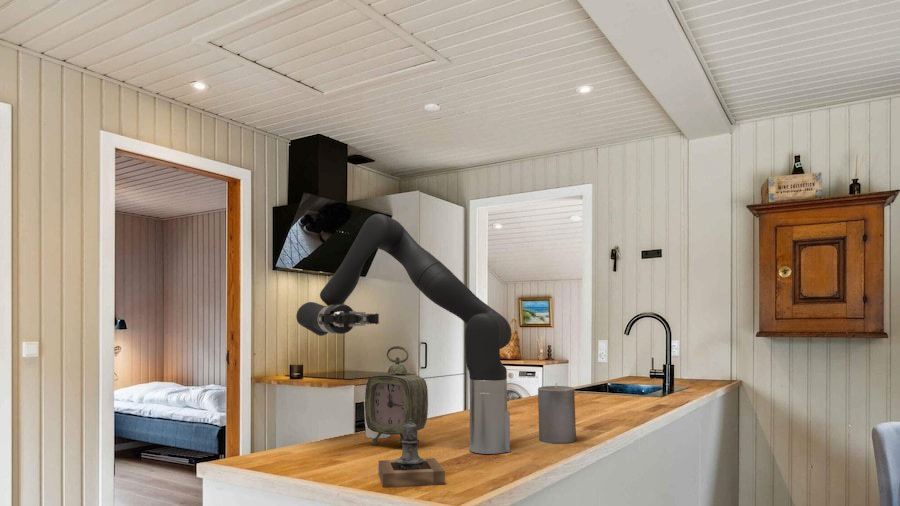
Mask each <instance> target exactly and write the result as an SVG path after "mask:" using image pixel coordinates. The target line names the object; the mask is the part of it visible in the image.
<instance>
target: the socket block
mask: <svg viewBox="0 0 900 506" xmlns="http://www.w3.org/2000/svg"><path fill="white" fill-rule="evenodd" d="M423 459H424V460H425V461H424V462H423V466H422V469H419V470H399V469H398V467H397V462H396V459H386V460H378V467H377V468H378V476H379V479H380V482H381V485H382V486H381V487H382V488H393V487H394V488H396V487H411V486H412V487H415V486H419V487H420V486H434V485H435V486H436V485H437V486H438V485H446V471H445V469H444V468H443V467H442V465H441V463H440V462H439V461H438V460H437V459H436V457H435V458H432V457H431V458H429V457H428V458H423Z"/></svg>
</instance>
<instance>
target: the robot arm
mask: <svg viewBox="0 0 900 506" xmlns="http://www.w3.org/2000/svg"><path fill="white" fill-rule="evenodd" d="M377 249H378V250H381V251H383V252H385V253H387V254H388V255H390V256H391V257H393V258H394V259H395V260H396V261H398V263H400V264H401V265H402V267H404V269H405V271H406V273H407V274H408V276H409V279H410V280H411V282H412V284H413V285H414V286H415V287H416V289H418V290H419V291H420V292H421V293H422V294H423V295H424V296H425V297H427V298H428V299H429V300H430V301H431V302H433V303H434V304H435V305H437V306H439V307H440V308H442V309H444V310H445V311H447V312H449V313H450V314H452V315H455V316H456V317H457V318H459V319H460V320H462V322H463V323H464V324H466V326H465V330H464V349H465V365H466V368H467V371H468V374H469V375H468V377H469V390H468V391H469V452H471V453H476V454H481V455H482V454H483V455H484V454H486V455H491V454H492V455H494V454H495V455H497V454H504V453H510V452H511V427H510V426H511V425H510V424H511V421H510V419H511V418H510V417H511V416H510V415H511V414H510V411H509V410H508V378H507V377H508V376H507V375H508V371H507V367H506V366H505V365H503V363H502V360H501V353H500V350H502V349H503V348H505V347H506V346H508V345H509V344H510V342H511V339H512V334H513V333H512V328H511V324H510V323H509V321H508V320H507V319H506V318H505V317H504V316H503V315H502V314H501V313H499V312H497V311H496V310H495V309H494V308H492V307H491V306H489V305H488V304H486V302H484V301H483V300H481V299H480V298H479V297H478V296H477V295H475V294H474V292H473V291H472V290H471V289H470V288H469V287H468V286H467V285H466V284H465V283H464V282H463V281H461V280H460V279H459V277H457V276H456V275H455V274H454V273H453V272H452V271H451V270H450V269H449V268H448V267H447V266H446V265H445V264H444V263H442V262H441V261H440V260H439V259H437V258H436V257H435V256H434V255H433V254H432V253H430V252H429V251H428V250H426V249H425V248H424V247H422V246H421V245H420V244H419V243H417V241H416V240H415V239H414V238H413V236H411V235H410V233H409V232H408V231H407V229H405V228H404V226H403V225H402V224H401V223H400V222H399V221H397V219H394V218H392V217H389V216H387V215H385V214H382V213H374V214H372V215H370V216H369V217H368V218H367V219H366V220H365V222H364V223H363V225H362V226H361V228H360V230H359V232H358V234H357V236H356V238H355V240H354V241H353V243H352V244H351V246H350V248H349V249H348V251H347V254H346V255H345V257H344V259H343V261H342V262H341V264H340V266H338V268H337V270H336V271H335V272H334V274H333V275H332V276H331V278H330V279H329V280H328V282H327V283H326V284H325V286H324V287H323V288H322V289H321V291H320V292H319V297H320V299H321V301H322V302H323V303H324V304H325V305H324V304H320V303H317V302H314V301H308V302H305V303H304V304H302V305H301V306H300V307H299V308H298V309H297V311H296V316H295V317H296V322H297V323H298V324H299V326H301V327H303V328H305V329H307V330H308V331H310V332H311V333H312V334H313V333H314V334H316V335H317V336H319V337H321V336H322V337H323V336H325V335H327V334H336V335H337V334H338V335H339V334H340V335H343V334H347V333H349V332H350V331H352V329H353V328H355V327H359V326H360V327H362V326H363V327H365V326H366V325H373V324H375V325H379V324H380V320H379V319H380V317H379V316H380V314H379V313H378V312H377V313H371V312H370V313H366V312H364V311H362V312H361V311H355V310H354V309H353V308H352V307H350V306H349V305H347V304H344V303H345V302H346V300H347V299H348V298H349V297H350V296H351V295H352V293H353V292H354V290H355V288H356V287H357V285H358V283H359V280H360V277H361V273H362V270H363V268H364V265H365V264H366V261H367V260H368V259H369V257H370V256H371V254H373V252H375V250H377Z"/></svg>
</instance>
